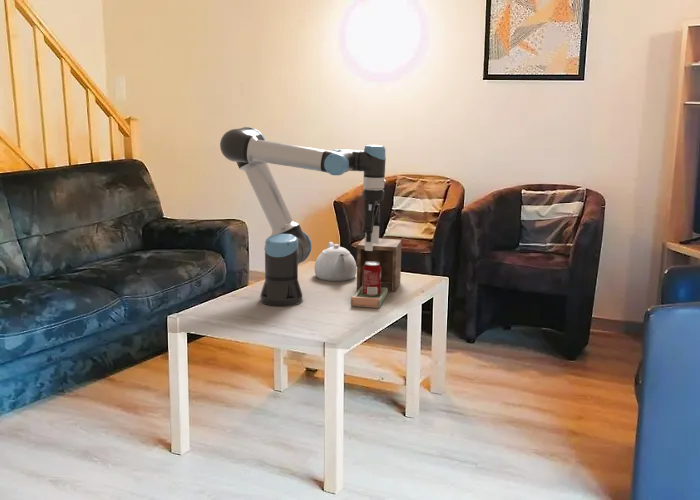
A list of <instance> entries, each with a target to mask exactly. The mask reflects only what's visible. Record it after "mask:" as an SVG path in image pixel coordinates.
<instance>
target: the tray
mask: <svg viewBox="0 0 700 500" xmlns="http://www.w3.org/2000/svg"><path fill="white" fill-rule="evenodd" d="M387 295H388V287H382V286H381V294H380V295H378V296H376V297H368V296H365V295H364V294H363V293H362V286H361V287H360V289H359V290H357V291H356V293H355V294H354V295H353V296H351V297H350V307H360V308H361V307H362V308H373V309H374V308H376V309H379V308H380V307H381V305H383V302H384V300H385V298H386V297H387Z"/></svg>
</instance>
